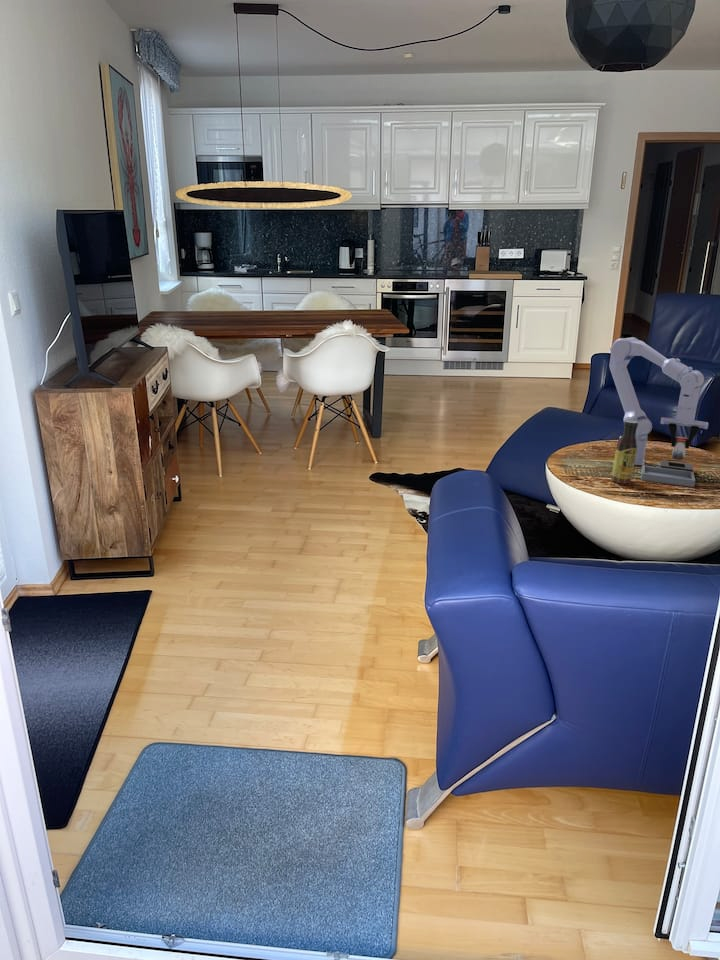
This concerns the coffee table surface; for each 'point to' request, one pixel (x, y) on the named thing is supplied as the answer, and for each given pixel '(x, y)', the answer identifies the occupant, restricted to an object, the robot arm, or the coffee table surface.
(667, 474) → the tray
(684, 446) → the small white jar
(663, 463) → the hitch block
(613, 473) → the sauce bottle
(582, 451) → the coffee table surface
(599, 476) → the coffee table surface
